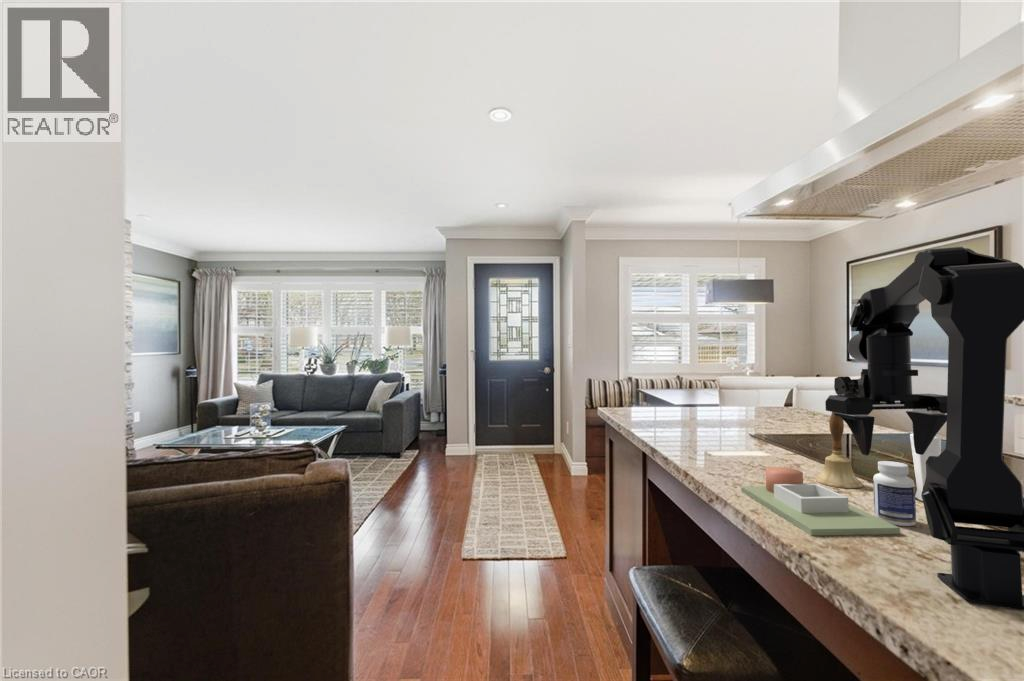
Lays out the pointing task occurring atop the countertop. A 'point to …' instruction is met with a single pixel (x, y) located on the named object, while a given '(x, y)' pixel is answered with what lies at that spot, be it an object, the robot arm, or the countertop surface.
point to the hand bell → (838, 461)
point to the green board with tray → (814, 506)
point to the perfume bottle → (924, 462)
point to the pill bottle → (894, 494)
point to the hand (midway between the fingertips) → (892, 454)
